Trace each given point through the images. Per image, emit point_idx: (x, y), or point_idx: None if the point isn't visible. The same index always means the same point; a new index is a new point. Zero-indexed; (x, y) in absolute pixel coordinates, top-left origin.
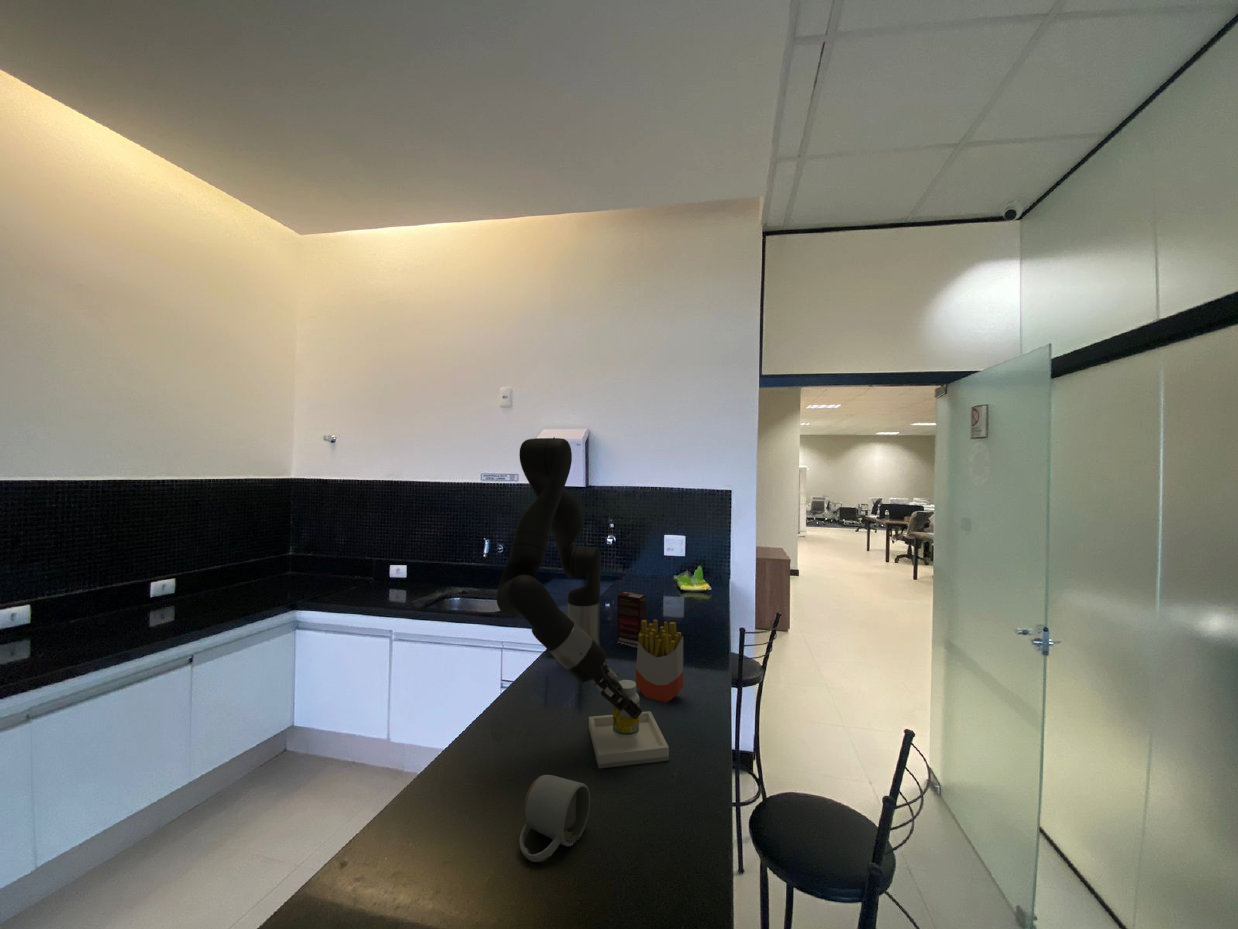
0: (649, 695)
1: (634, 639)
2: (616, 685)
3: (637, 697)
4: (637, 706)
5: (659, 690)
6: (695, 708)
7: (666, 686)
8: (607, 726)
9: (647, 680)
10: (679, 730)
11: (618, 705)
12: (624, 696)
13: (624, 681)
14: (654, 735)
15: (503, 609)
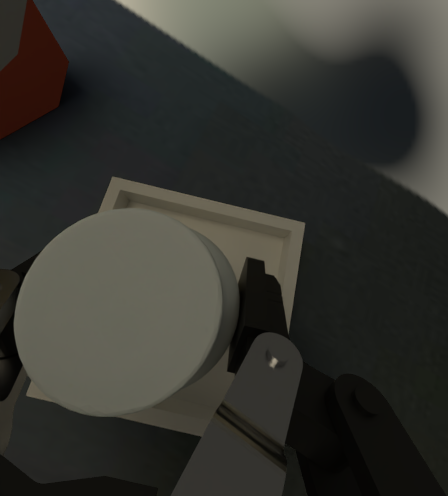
0: (1, 127)
1: None
2: (153, 492)
3: (211, 247)
4: (265, 279)
5: (13, 91)
6: (124, 67)
7: (20, 61)
8: None
9: None
10: (192, 149)
11: (346, 481)
12: (414, 477)
13: (60, 298)
14: (201, 218)
15: None
